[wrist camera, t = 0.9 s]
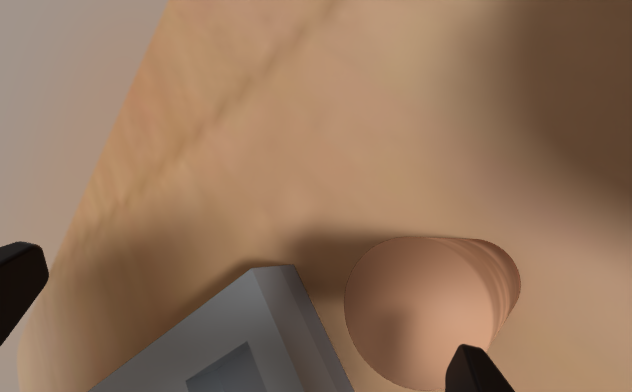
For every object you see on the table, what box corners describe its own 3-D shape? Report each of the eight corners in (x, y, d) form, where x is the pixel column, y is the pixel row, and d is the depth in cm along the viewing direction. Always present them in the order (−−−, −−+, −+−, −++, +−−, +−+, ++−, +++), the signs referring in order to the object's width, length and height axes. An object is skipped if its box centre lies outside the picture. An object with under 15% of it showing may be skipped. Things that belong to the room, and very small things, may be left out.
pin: (540, 298, 17) (527, 351, 9) (463, 336, 19) (388, 413, 10) (486, 223, 19) (431, 208, 10) (418, 264, 20) (322, 280, 12)
